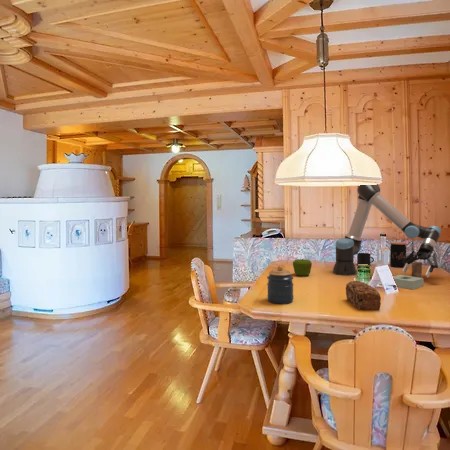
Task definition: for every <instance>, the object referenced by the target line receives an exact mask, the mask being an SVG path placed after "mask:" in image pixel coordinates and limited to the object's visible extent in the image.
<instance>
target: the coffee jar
mask: <svg viewBox="0 0 450 450" xmlns="http://www.w3.org/2000/svg"><path fill="white" fill-rule="evenodd" d="M389 251H390V252H389V254H390V256H389V259H390V260H389V264H390V267H392V268H397V269H398V268H402V269H404V268H403V266H404V263H403V262H402V261H403V260H404V259H405V258H406V257H407V242H403V241H391V242H390V250H389Z"/></svg>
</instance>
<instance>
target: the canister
mask: <svg viewBox="0 0 450 450" xmlns="http://www.w3.org/2000/svg"><path fill="white" fill-rule="evenodd" d="M268 274H269V275H267V276H266V277H267V281H268V282H267V284H266V285H267V294H266V296H267V297H266V298H267V301H268V302H269V303H272V304H279V305H280V304H281V305H286V304H290V303H292V302H293V301H294V283H293V279H294V277H293V276H292V272H291V271H290V270H289V269H285V268H283V266H282V265H278V266H277V268H275V269H272V270H270V271H268Z"/></svg>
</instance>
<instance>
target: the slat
mask: <svg viewBox="0 0 450 450" xmlns="http://www.w3.org/2000/svg"><path fill="white" fill-rule="evenodd" d="M422 266H423V262H422V261H421V262H420V261H414V262H412V263H411V276H412V277H418V278H423V277H422V276H423V275H422V274H423V272H422V270H423V267H422Z"/></svg>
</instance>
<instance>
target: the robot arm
mask: <svg viewBox="0 0 450 450" xmlns="http://www.w3.org/2000/svg"><path fill="white" fill-rule="evenodd" d="M356 191H357V194H358V196H357V200H358V204H357V206H356V210H355V213H354V216H353V219H352V222H351V225H350V227H349V231H348V233H346V234H345V236H344V238H338V239H337V240H336V241H335V262H334V265H333V268H332V273H333V274H335V275H340V276H354V275H357V269H356V266H355V263H354V260H355V259H354V258H355V257H354V256H355V255H356V256H357V253H360V251H361V249H362V245H361V244H362V241H363V239H362V234H363V231H364V229H365V227H366V223H367V220H368V217H369V215H370V211H371V209H372V206H374V207H375V208H376V209H378V211H380V213H382V214H383V215H384V216H385V217H386V218H387V219H388V220H390V221H391V222H392V223H393V224H394V225H395V226H396V227H398V228H399V230H401V231H402V232H403V233H404V234H405V236H406V237H407V238H408V239H416V238H420V239H422V241H421V243H420V246H419V248H418V251H416V252H415V251H414V250H412V251H411V253H409V255H406V258H405V259H404V260H403V261H402V262H403V263H404V266H403V268H402V271H401V272H402V274H403V275H405V274H406V273H407V271H408V268H409V266H410V264H412V263H414V262H417V261H419V260H422V261H426V260H427V262H428V264H429V265H428V267H427V270H426V273H425V276H426V278H429V277H430V274H431V273H433V272H434V269H438V268H439V265H438V260H437V257H438V256H437V254H436V253H435V252H434V250H435V248H436V246H437V244H438V241H439V238H440V236H441V234H442V229H441V228H440V227H439V226H437V225H430V226H428V227H426V226H424V225H419V224H417V223H413V222H412V221H411V220H410V219H409V218H408V217H407V216H405V215H404V214H403V213H402V212H401V211H400V210H398V209H397V207H395V206H394V205H393V204H391V203H390V202H389V201H388V200H387V199H386V198H385V197H383V195H381V187H380V185H379V184H378V183H377V185H360V186H359V185H358V186H357V190H356ZM433 252H434V253H433ZM431 257H432V258H433V259H432V260H433V263H434V264H433V263H432V261H431V259H430V258H431Z"/></svg>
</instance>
